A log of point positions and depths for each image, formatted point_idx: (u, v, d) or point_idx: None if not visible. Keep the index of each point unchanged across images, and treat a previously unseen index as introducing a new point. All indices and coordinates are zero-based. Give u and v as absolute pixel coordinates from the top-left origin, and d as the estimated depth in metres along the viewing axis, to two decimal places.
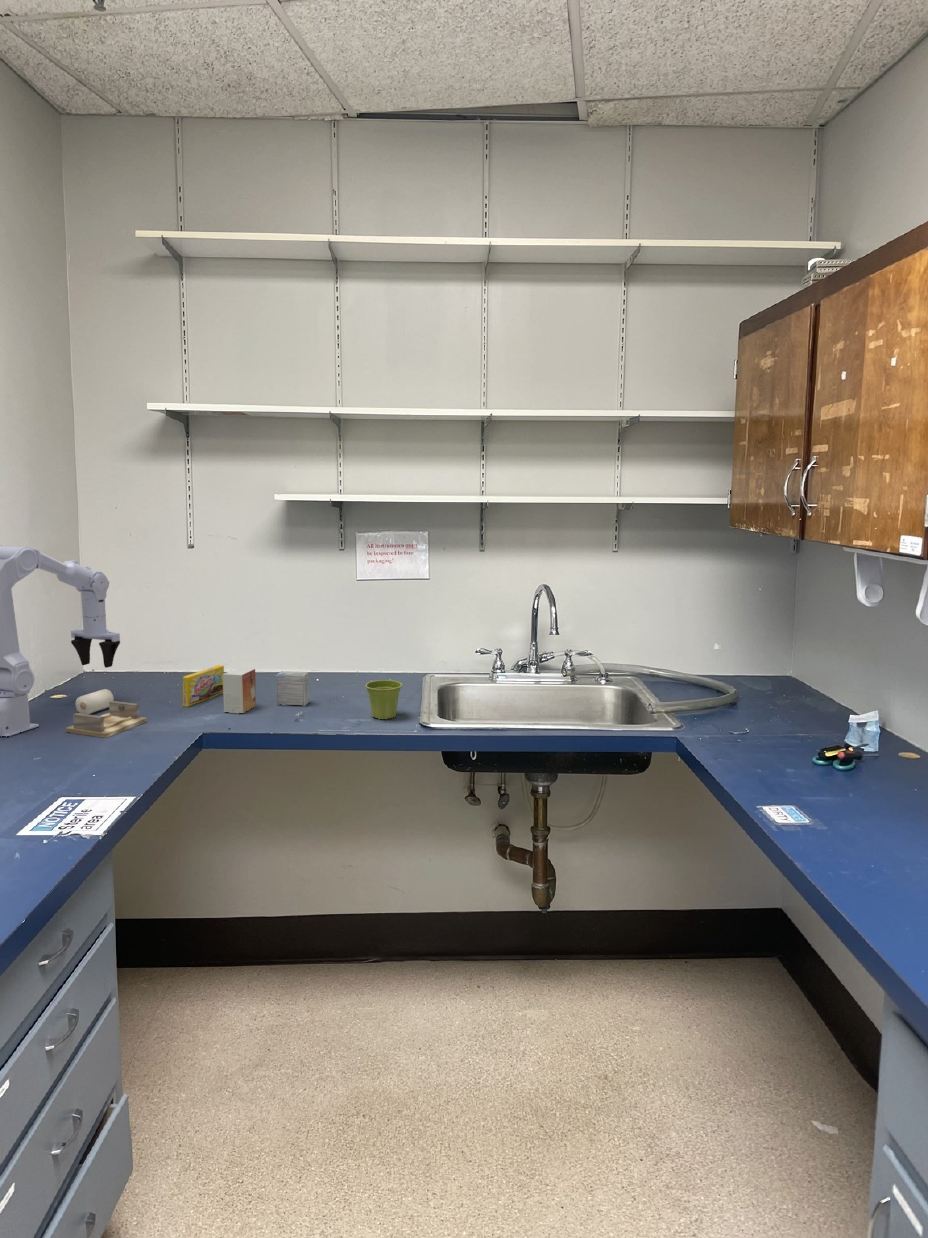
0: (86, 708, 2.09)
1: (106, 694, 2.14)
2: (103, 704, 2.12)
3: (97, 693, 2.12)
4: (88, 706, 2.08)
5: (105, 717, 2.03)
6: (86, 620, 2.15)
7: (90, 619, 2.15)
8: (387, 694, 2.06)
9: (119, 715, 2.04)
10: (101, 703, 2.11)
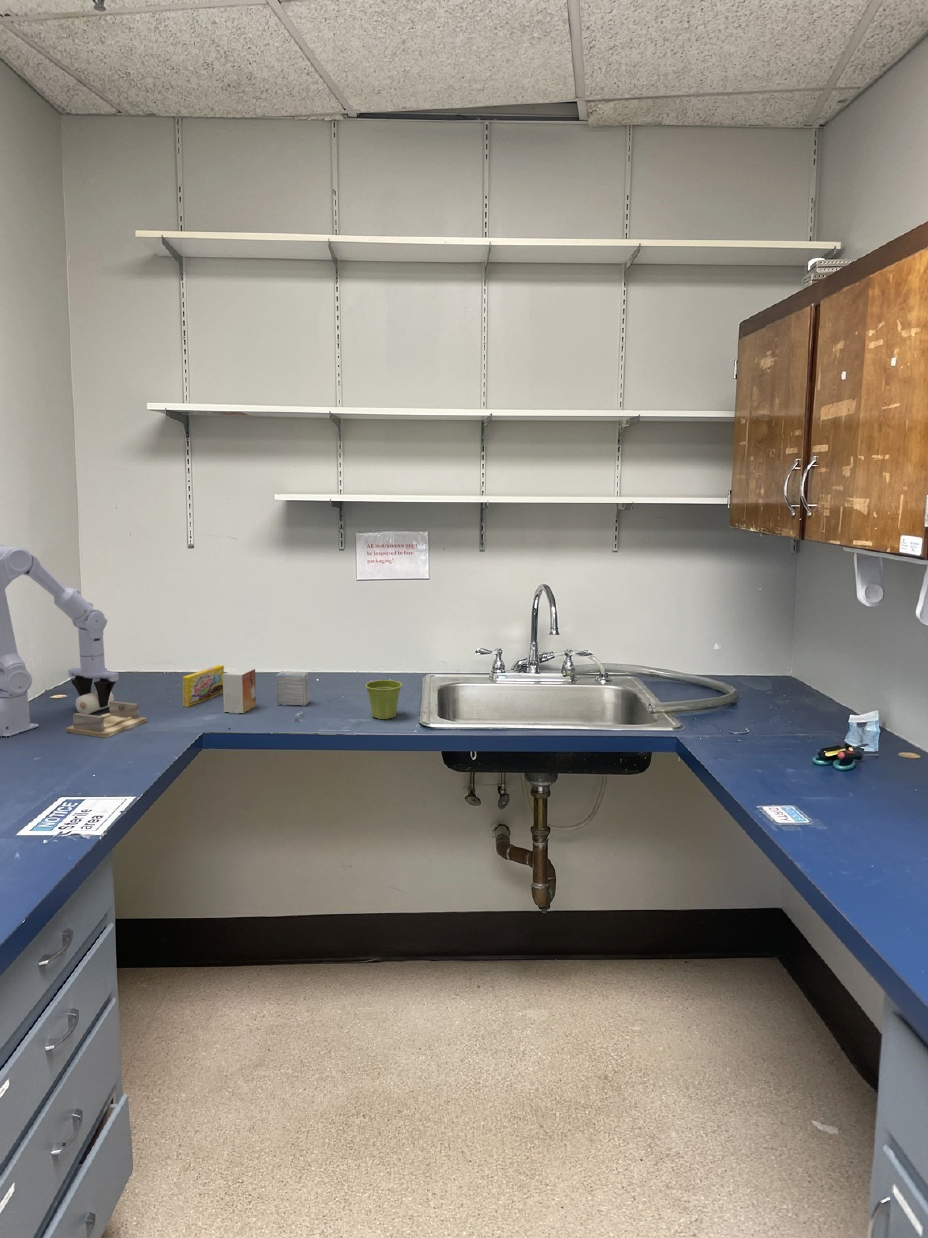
0: (86, 708, 2.09)
1: None
2: None
3: (97, 693, 2.12)
4: (88, 706, 2.08)
5: (105, 717, 2.03)
6: (84, 659, 2.08)
7: (88, 658, 2.08)
8: (387, 694, 2.06)
9: (119, 715, 2.04)
10: None
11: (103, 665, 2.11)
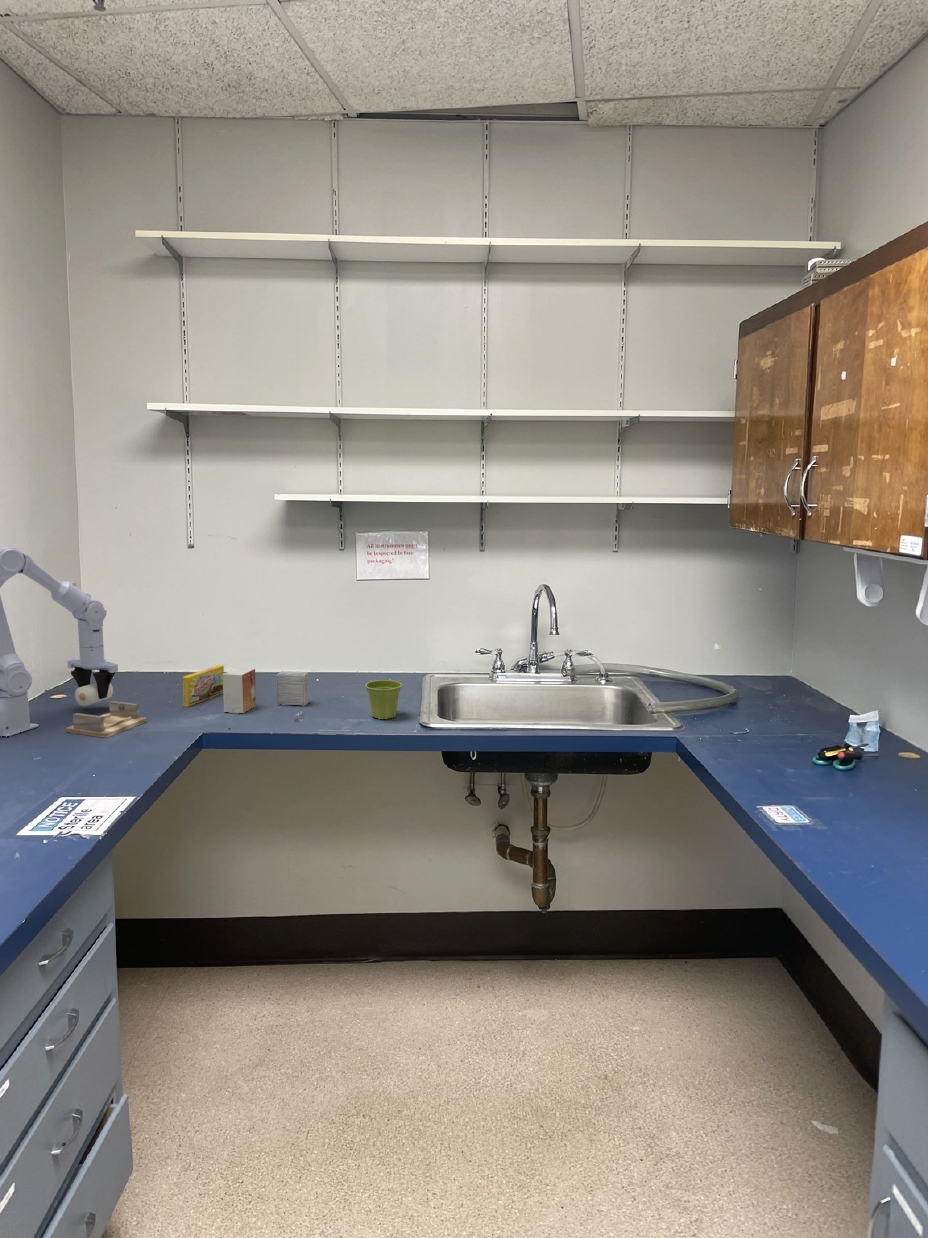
0: (85, 699, 2.08)
1: None
2: None
3: None
4: (87, 697, 2.08)
5: (105, 717, 2.03)
6: (83, 650, 2.07)
7: (87, 649, 2.07)
8: (387, 694, 2.06)
9: (119, 715, 2.04)
10: None
11: (102, 656, 2.10)
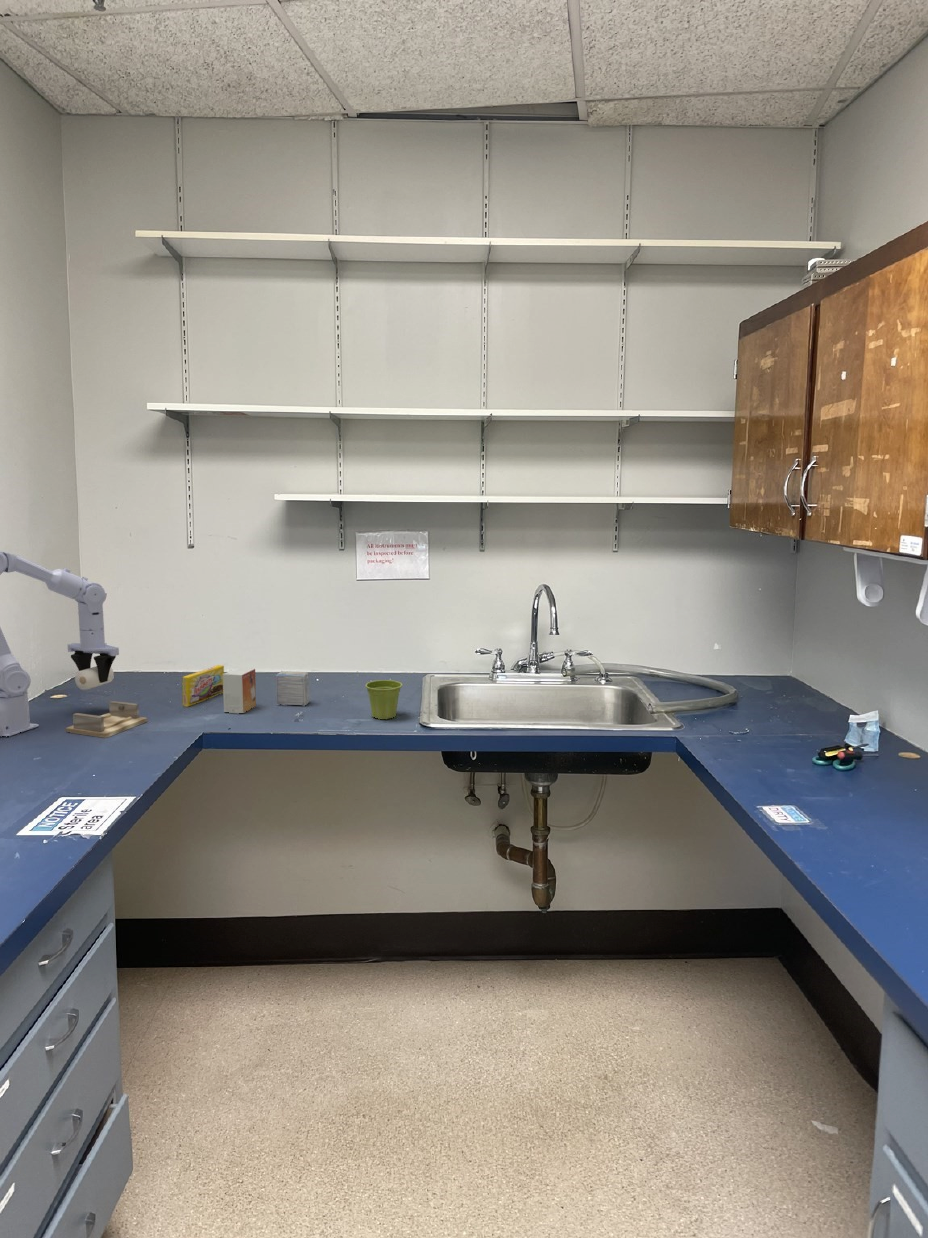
0: (86, 683, 2.05)
1: None
2: None
3: None
4: (88, 681, 2.05)
5: (105, 717, 2.03)
6: (83, 633, 2.05)
7: (88, 632, 2.05)
8: (387, 694, 2.06)
9: (119, 715, 2.04)
10: None
11: (103, 640, 2.08)
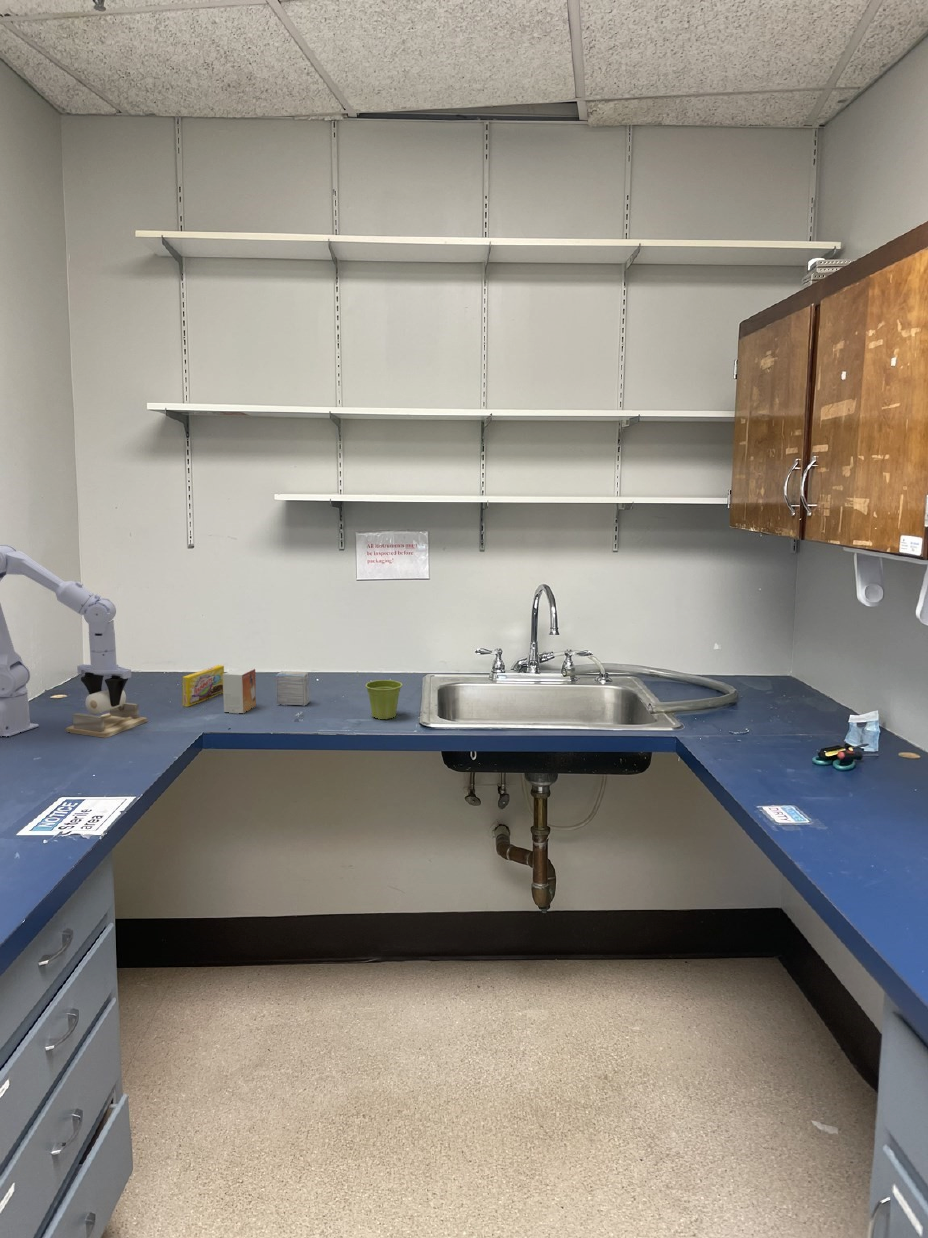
0: (97, 707, 1.94)
1: None
2: None
3: None
4: (99, 705, 1.94)
5: (105, 717, 2.03)
6: (94, 655, 1.94)
7: (98, 654, 1.94)
8: (387, 694, 2.06)
9: (119, 715, 2.04)
10: None
11: (115, 661, 1.97)
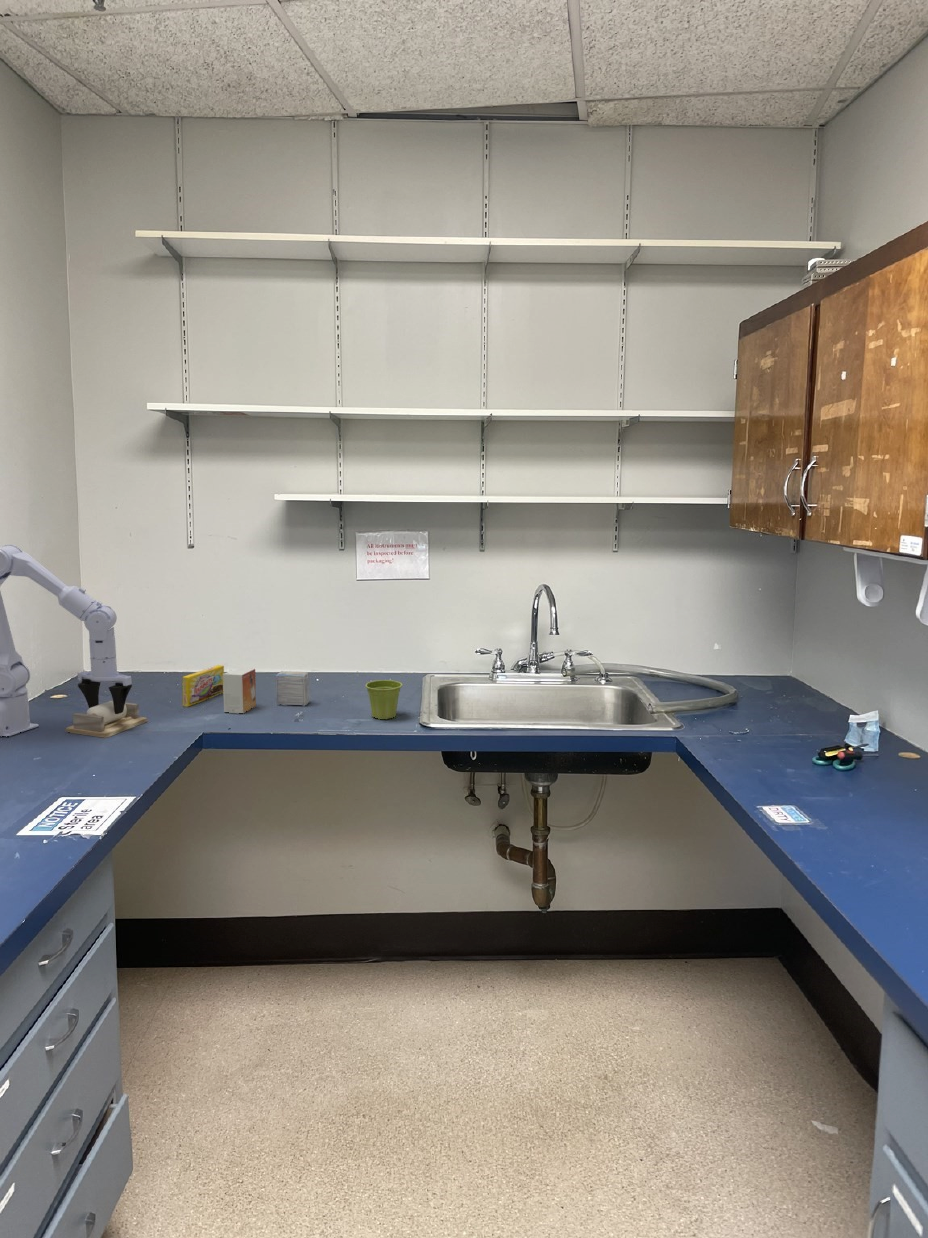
0: None
1: None
2: (115, 715, 1.98)
3: (109, 704, 1.98)
4: None
5: None
6: (94, 662, 1.94)
7: (99, 661, 1.94)
8: (387, 694, 2.06)
9: None
10: (113, 714, 1.98)
11: (115, 668, 1.97)
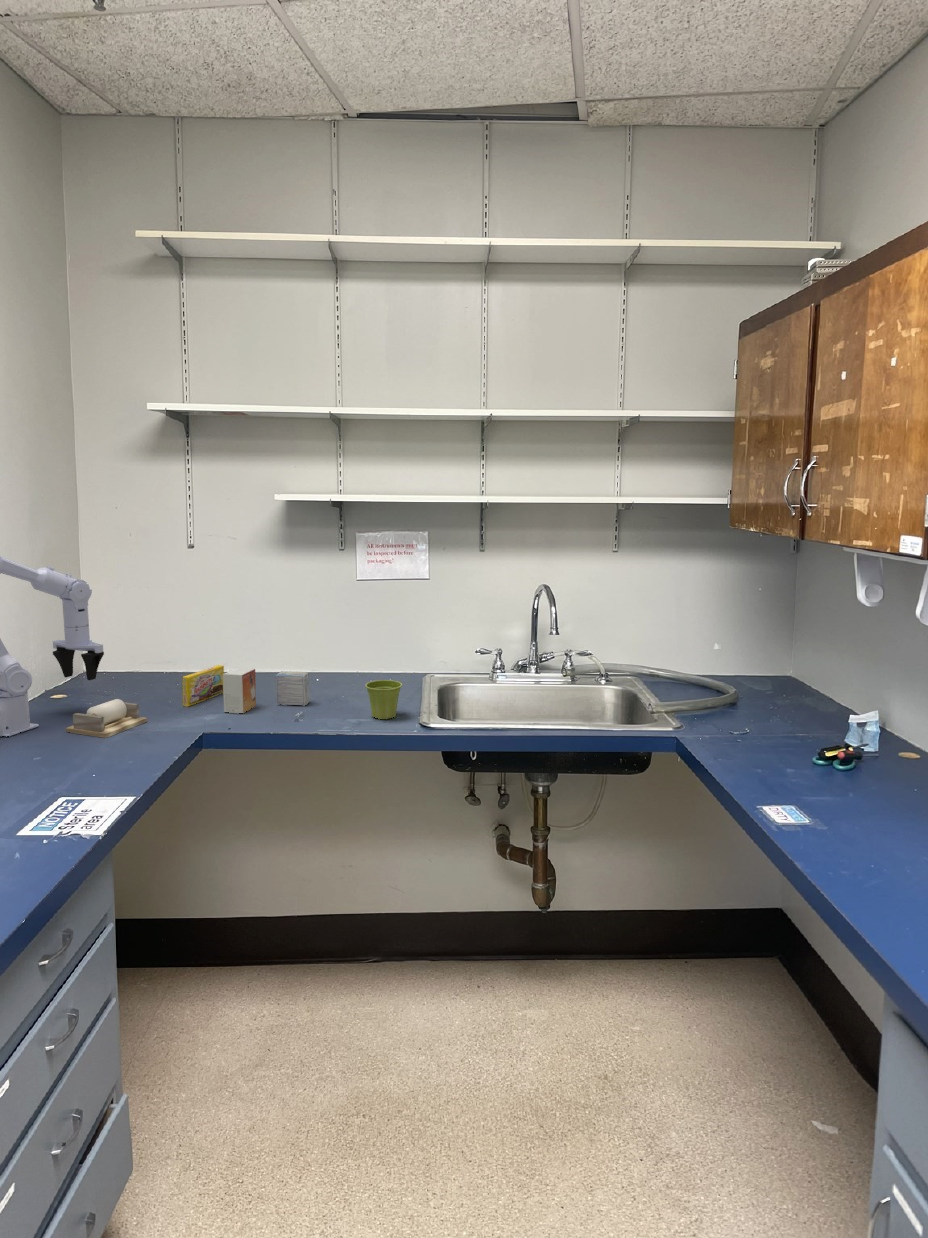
0: None
1: (119, 705, 2.00)
2: (115, 715, 1.98)
3: (109, 704, 1.98)
4: None
5: None
6: (68, 630, 2.04)
7: (72, 629, 2.04)
8: (387, 694, 2.06)
9: None
10: (113, 714, 1.98)
11: (88, 636, 2.07)
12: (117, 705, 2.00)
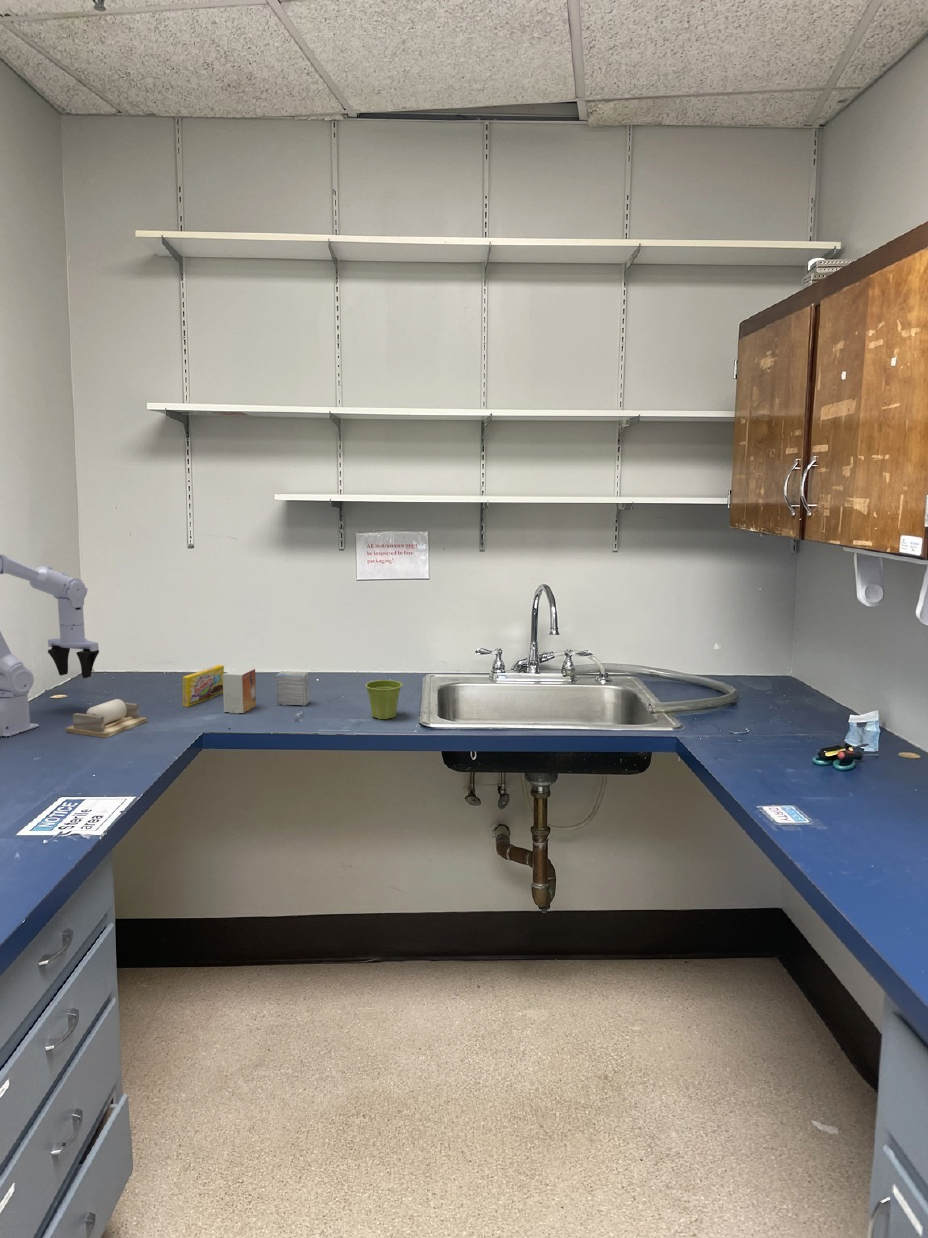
0: None
1: (119, 705, 2.00)
2: (115, 715, 1.98)
3: (109, 704, 1.98)
4: None
5: None
6: (63, 629, 2.06)
7: (67, 628, 2.06)
8: (387, 694, 2.06)
9: None
10: (113, 714, 1.98)
11: (83, 635, 2.09)
12: (117, 705, 2.00)
